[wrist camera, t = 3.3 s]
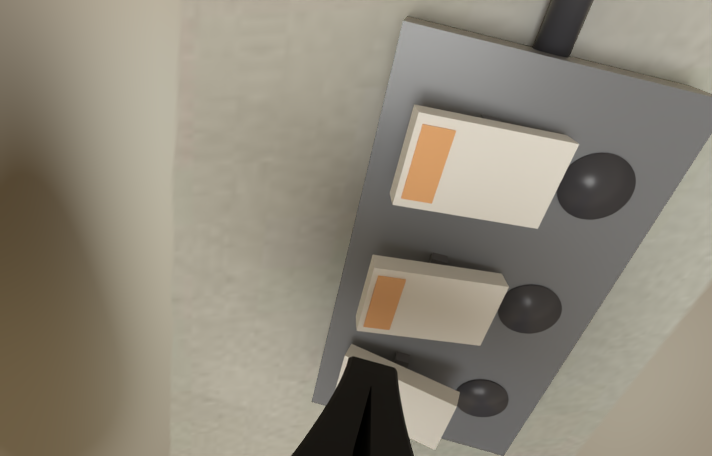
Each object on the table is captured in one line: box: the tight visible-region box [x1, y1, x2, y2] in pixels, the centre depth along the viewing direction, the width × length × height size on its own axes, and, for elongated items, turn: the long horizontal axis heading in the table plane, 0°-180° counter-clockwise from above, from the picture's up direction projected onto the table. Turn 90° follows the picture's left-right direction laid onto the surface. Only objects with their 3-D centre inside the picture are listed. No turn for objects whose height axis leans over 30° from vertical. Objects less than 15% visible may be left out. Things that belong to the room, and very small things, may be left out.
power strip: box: [312, 0, 712, 456], centre depth 17 cm, size 25×10×3 cm, turn 168°
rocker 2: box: [356, 255, 509, 346], centre depth 16 cm, size 3×5×1 cm, turn 78°
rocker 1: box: [390, 104, 579, 229], centre depth 14 cm, size 3×5×1 cm, turn 78°
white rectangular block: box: [336, 344, 460, 450], centre depth 19 cm, size 3×5×1 cm, turn 78°
